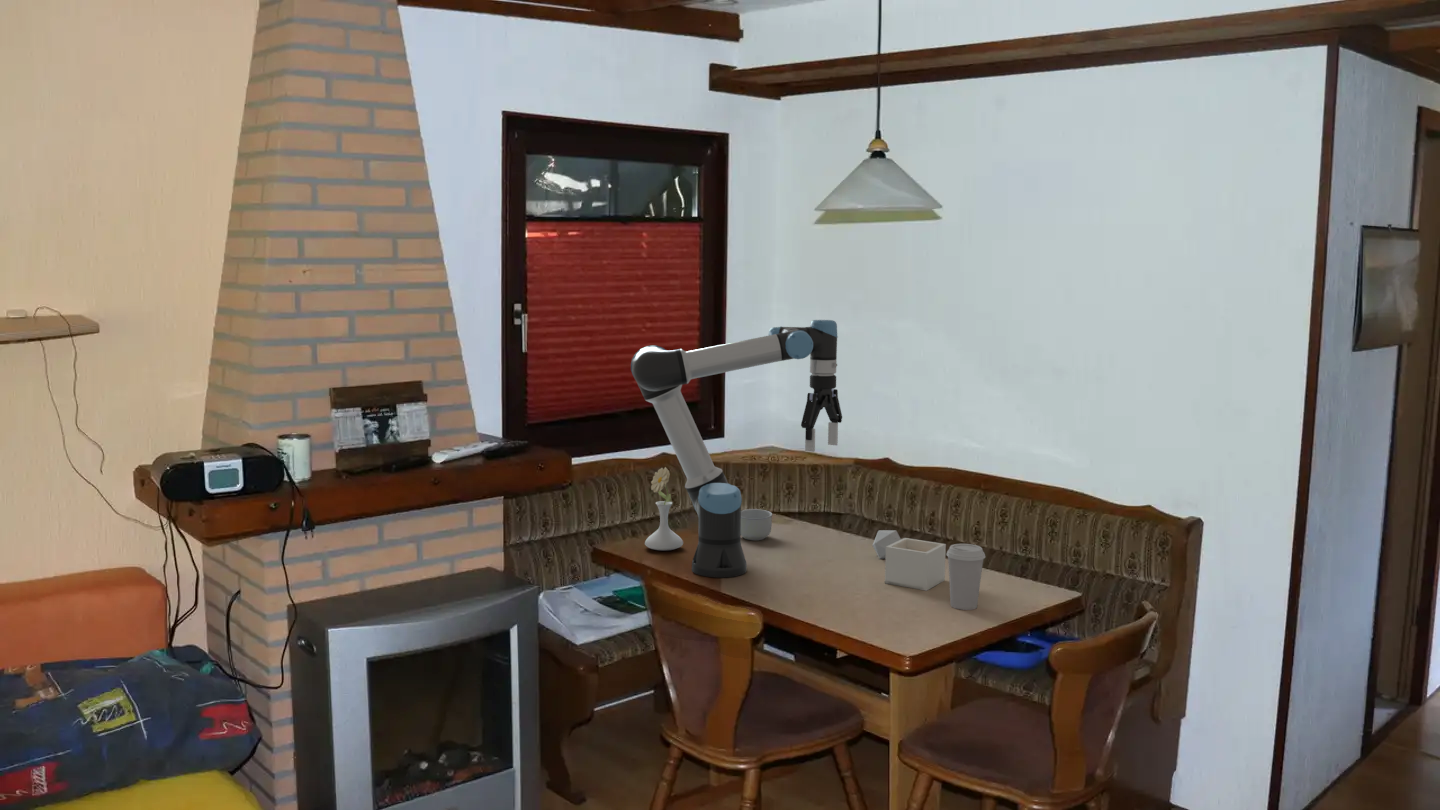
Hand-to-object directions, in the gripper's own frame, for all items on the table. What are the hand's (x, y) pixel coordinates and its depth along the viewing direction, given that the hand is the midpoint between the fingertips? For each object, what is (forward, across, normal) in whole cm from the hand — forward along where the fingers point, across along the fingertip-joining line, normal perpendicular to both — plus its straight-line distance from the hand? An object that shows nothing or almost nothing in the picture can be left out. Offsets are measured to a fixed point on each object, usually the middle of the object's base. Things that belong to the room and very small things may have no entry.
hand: (821, 448), depth 336 cm
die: (+32, +10, -17) cm, 37 cm away
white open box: (+32, -9, -34) cm, 47 cm away
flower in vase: (+32, -20, +41) cm, 56 cm away
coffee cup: (+32, -22, -53) cm, 66 cm away
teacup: (+32, +7, +28) cm, 43 cm away
